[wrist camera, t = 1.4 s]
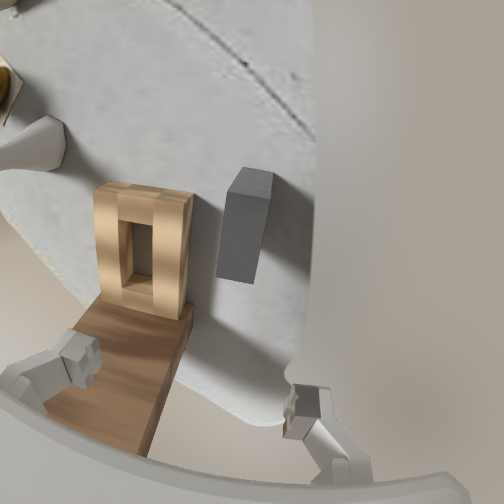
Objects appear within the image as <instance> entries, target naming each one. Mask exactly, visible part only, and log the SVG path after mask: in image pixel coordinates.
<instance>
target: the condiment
mask: <svg viewBox="0 0 504 504" xmlns="http://www.w3.org/2000/svg"><path fill="white" fill-rule="evenodd" d="M22 84H23V81H22V80H21V79H20V78H19V77H18V76H17V74H16V73H15V72H14V71H13V70H12V68H11V67H10V66H9V64H8V63H7V62H6V61H5V60H4V58H3V57H2V56H1V55H0V125H1V126H3V123H4V121H5V120H6V117H7V115H8V113H9V111H10V109H11V107H12V105H13V103H14V101H15V98H16V96H17V94H18V92H19V90H20V88H21V86H22Z"/></svg>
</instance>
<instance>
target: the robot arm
mask: <svg viewBox="0 0 504 504" xmlns="http://www.w3.org/2000/svg"><path fill="white" fill-rule="evenodd" d="M99 346H100V342H99V339H97V338H94V337H91V336H89V335H86V334H84V333H81V332H78V331H76V330H73V329H71V328H69V329H67V330H66V331H65V332H64V333H63V335H62V336H61V337H60V338H59V340H58V341H57V342H56V343H55V344H54V346H53V347H52V349H51V350H50V351H48V350H46V351H43V352H41V353H38V354H36V355H33V356H31V357H28V358H26V359H24V360H21V361H19V362H16V363H14V364H11V365H9V366H7V367H6V369H5V370H4V371H3V372H2V374H1V375H0V504H471V499H470V495H469V492H468V490H467V488H465V486H464V485H463V484H461V483H460V482H459V481H458V480H457V479H456V478H455V477H453V476H452V475H451V474H449V473H448V472H437V473H433V474H428V475H423V476H417V477H411V478H405V479H399V480H392V481H391V480H390V481H382V482H373V476H372V469H371V462H370V457H369V455H368V454H367V453H366V452H365V451H364V450H363V448H362V447H361V446H360V445H359V444H358V443H357V442H356V441H355V439H354V438H353V437H352V436H351V435H350V434H349V432H348V431H347V430H346V429H345V428H344V427H343V425H342V424H341V423H340V422H339V421H338V420H335V419H334V413H333V404H332V396H331V390H330V388H329V387H318V386H310V385H300V384H293V385H292V386H291V389H290V394H289V395H287V398H286V400H285V404H284V411H283V416H284V418H285V419H286V420H285V422H284V424H283V438H286V439H294V440H303V443H304V444H305V446H306V447H307V449H308V451H309V452H310V454H311V456H312V457H313V459H314V460H315V462H316V464H317V465H318V467H319V468H320V470H321V473H320V474H318V475H317V476H316V477H315V478H314V479H313V480H312V481H311V485H307V484H303V485H302V484H285V483H284V484H283V483H272V482H261V481H251V480H244V479H237V478H231V477H225V476H218V475H213V474H208V473H203V472H198V471H193V470H189V469H185V468H181V467H177V466H173V465H169V464H165V463H162V462H159V461H155V460H152V459H148V458H145V457H142V456H139V455H136V454H133V453H130V452H127V451H124V450H122V449H119V448H116V447H114V446H111V445H108V444H106V443H103V442H101V441H98V440H96V439H93V438H91V437H89V436H86V435H84V434H82V433H80V432H78V431H75V430H73V429H71V428H69V427H67V426H65V425H63V424H61V423H59V422H57V421H55V420H53V419H51V418H49V417H47V414H48V413H47V410H46V408H45V407H44V405H43V402H45V401H46V400H48V399H50V398H51V397H53V396H55V395H56V394H58V393H59V392H61V391H63V390H64V389H66V388H68V387H69V386H71V385H72V384H74V385H76V386H79V387H81V388H84V389H86V390H88V389H89V387H90V386H91V384H92V382H93V380H94V376H93V374H95V373H98V372H99V370H100V368H101V366H102V362H103V355H102V352H101V351H100V349H99Z"/></svg>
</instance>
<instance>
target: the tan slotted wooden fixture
mask: <svg viewBox="0 0 504 504" xmlns="http://www.w3.org/2000/svg"><path fill="white" fill-rule="evenodd" d="M193 199H194V193H189V192H183V191H177V190H170V189H163V188H156V187H149V186H142V185H135V184H128V183H120V182H112V181H109V182H107V183H106V184H104V185H102V186H100V187H98V188H96V189H94V190H93V201H94V224H95V239H96V251H97V261H98V270H99V278H100V286H101V293H100V295H99V296H98V297H97V298H96V299H95V301H94V302H93V303H92V304H91V306H90V307H89V308H88V309H87V311H86V312H85V313H84V315H83V316H82V317H81V319H80V320H79V321H78V322H77V324H76V325H75V326H74V328H73V330H76V331H78V332H81V333H84V334H86V335H89V336H91V337H94V338H97V339H99V342H100V346H99V349H100V351H101V352H102V355H103V362H102V366H101V368H100V370H99V372H98V373H95V374H93V376H94V380H93V382H92V384H91V386H90V387H89V389H88V390H86V389H84V388H81V387H79V386H76V385H74V384H72V385H71V386H69V387H68V388H66V389H64V390H63V391H61V392H59V393H58V394H56V395H55V396H53V397H51V398H50V399H48V400H46V401H45V402H43V405H44V407H45V408H46V410H47V413H48V414H47V417H49V418H51V419H53V420H55V421H57V422H59V423H61V424H63V425H65V426H67V427H69V428H71V429H73V430H75V431H78V432H80V433H82V434H84V435H86V436H89V437H91V438H93V439H96V440H98V441H101V442H103V443H106V444H108V445H111V446H114V447H116V448H119V449H122V450H124V451H127V452H130V453H133V454H136V455H139V456H142V457H145V458H147V455H148V452H149V449H150V446H151V443H152V440H153V437H154V434H155V431H156V428H157V425H158V422H159V419H160V416H161V413H162V411H163V408H164V405H165V402H166V399H167V396H168V393H169V390H170V388H171V385H172V382H173V379H174V376H175V374H176V371H177V368H178V365H179V362H180V360H181V357H182V354H183V351H184V349H185V346H186V343H187V340H188V338H189V335H190V332H191V330H192V322H193V306H194V304H190V303H186V289H187V272H188V257H189V244H190V231H191V220H192V209H193ZM132 222H135V223H140V224H146V225H151V226H153V257H152V261H153V277H150V276H146V275H141V274H137V273H134V272H133V243H132Z"/></svg>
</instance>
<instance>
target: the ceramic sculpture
mask: <svg viewBox="0 0 504 504" xmlns="http://www.w3.org/2000/svg"><path fill="white" fill-rule="evenodd" d="M17 1H18V0H0V10H4V9H7V8H9V7H11V6H12V5H14V4H15V3H16V2H17Z"/></svg>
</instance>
